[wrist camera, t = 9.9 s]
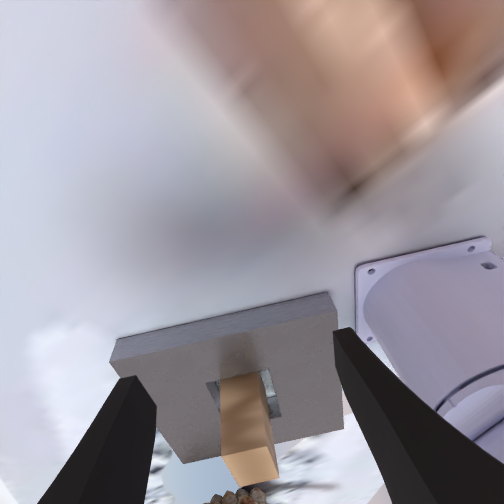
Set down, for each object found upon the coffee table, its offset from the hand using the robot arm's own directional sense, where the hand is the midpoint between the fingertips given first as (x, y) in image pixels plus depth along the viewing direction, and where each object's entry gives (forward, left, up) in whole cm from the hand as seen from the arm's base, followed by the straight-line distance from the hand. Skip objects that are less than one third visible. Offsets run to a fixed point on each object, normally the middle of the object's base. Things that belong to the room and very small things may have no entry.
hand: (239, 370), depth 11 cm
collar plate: (+2, +14, -9) cm, 17 cm away
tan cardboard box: (+2, +14, -10) cm, 17 cm away
